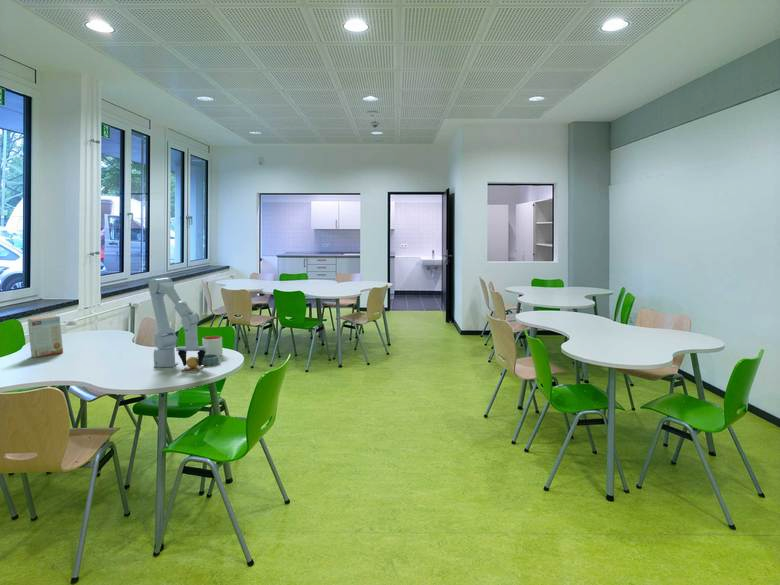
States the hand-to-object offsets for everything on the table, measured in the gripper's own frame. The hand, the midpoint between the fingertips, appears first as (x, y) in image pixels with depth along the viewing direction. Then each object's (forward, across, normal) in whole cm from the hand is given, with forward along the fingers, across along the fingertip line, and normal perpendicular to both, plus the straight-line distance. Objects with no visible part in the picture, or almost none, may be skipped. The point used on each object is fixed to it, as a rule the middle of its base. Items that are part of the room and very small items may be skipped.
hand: (192, 365), depth 259 cm
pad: (+2, 0, 0) cm, 2 cm away
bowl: (+2, +3, +12) cm, 13 cm away
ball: (-2, 0, 0) cm, 2 cm away
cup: (+2, 0, +28) cm, 28 cm away
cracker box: (+2, -93, +31) cm, 98 cm away
